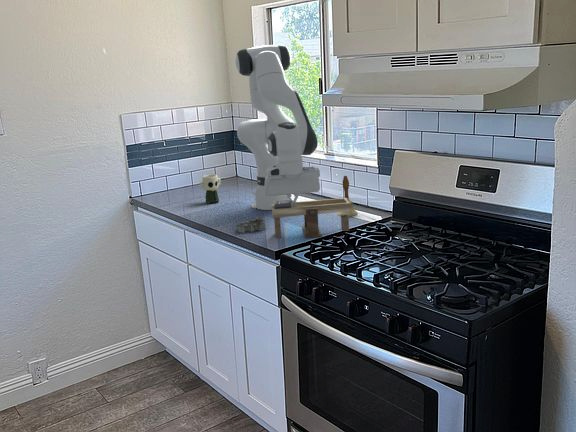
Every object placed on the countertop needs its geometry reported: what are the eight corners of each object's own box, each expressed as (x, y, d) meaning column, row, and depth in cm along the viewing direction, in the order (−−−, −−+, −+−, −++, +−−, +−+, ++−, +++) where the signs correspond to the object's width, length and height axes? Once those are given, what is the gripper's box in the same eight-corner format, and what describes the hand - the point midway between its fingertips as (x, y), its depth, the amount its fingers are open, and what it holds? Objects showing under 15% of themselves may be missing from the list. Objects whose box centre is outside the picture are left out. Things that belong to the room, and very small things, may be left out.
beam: (272, 212, 219) (271, 204, 218) (346, 205, 220) (346, 197, 219) (273, 217, 210) (272, 209, 209) (350, 211, 211) (349, 202, 210)
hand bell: (349, 217, 234) (348, 178, 230) (333, 215, 240) (331, 176, 236) (361, 213, 240) (360, 174, 236) (345, 210, 246) (343, 173, 242)
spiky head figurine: (205, 205, 272) (203, 178, 269) (198, 203, 278) (195, 176, 275) (226, 201, 278) (223, 174, 275) (218, 199, 284) (216, 173, 281)
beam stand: (274, 230, 223) (272, 203, 221) (344, 224, 224) (343, 197, 222) (276, 240, 209) (274, 212, 207) (351, 234, 210) (349, 206, 208)
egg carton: (263, 226, 232) (262, 216, 231) (265, 231, 224) (265, 220, 223) (236, 228, 230) (235, 218, 229) (238, 233, 223) (237, 223, 222)
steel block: (274, 210, 216) (274, 201, 216) (291, 208, 217) (290, 199, 216) (275, 213, 212) (274, 204, 211) (291, 212, 212) (291, 202, 211)
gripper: (318, 164, 214) (320, 201, 218) (262, 169, 213) (265, 206, 216) (320, 167, 208) (322, 205, 211) (263, 172, 207) (266, 210, 210)
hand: (293, 205), depth 214 cm, fingers closed
